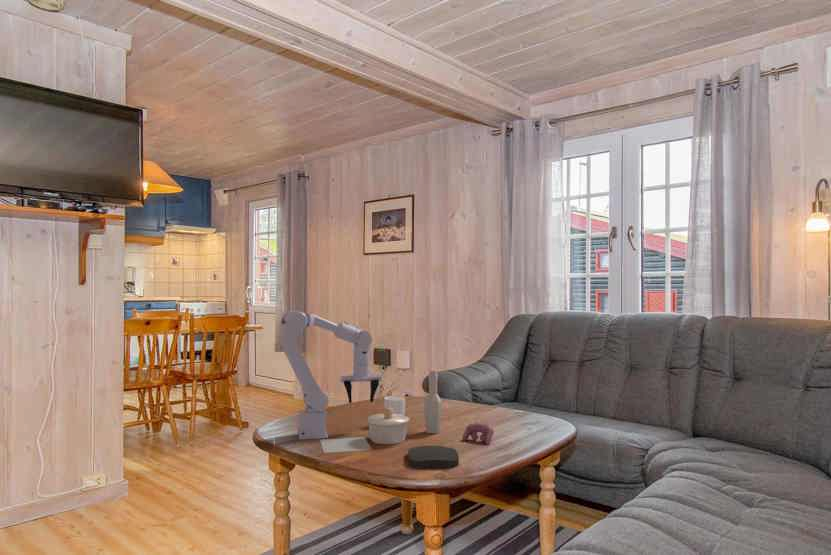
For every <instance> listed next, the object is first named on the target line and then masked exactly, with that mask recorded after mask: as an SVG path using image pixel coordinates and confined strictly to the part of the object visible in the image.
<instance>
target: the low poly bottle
mask: <svg viewBox="0 0 831 555" xmlns="http://www.w3.org/2000/svg"><path fill="white" fill-rule="evenodd" d="M438 379H439V375H438V371H437V369H430V370H429V372H428V394H427V395H426V397H425V398H424V402H423V407H424V408H423V412H424V413H423V414H424V424H425V432H426V434H429V433H437V434H439V433H440V428H441V422H442V421H441V420H442V413H443V411H442V410H443V407H442V405H443V404H442V403H443V401H442V399H441V397H440V396H439V394H438V381H439V380H438Z"/></svg>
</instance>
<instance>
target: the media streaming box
mask: <svg viewBox="0 0 831 555" xmlns="http://www.w3.org/2000/svg"><path fill="white" fill-rule="evenodd" d="M407 451H408V452H407V459H408V464H409V466H410V465H411V467H412V466H414V467H413V468H416V467H419V468H418V469H446V468H447V469H450V468H451V467H452V468H456V467H458V466H459V464H460V462H459V461H460V460H459V459H460V457H459V454H458V451H457V449H456V448H453V447H449V446H443V445H433V444H431V445H420V446H414V447H410V448H408V450H407ZM455 466H456V467H455Z"/></svg>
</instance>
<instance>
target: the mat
mask: <svg viewBox="0 0 831 555" xmlns="http://www.w3.org/2000/svg"><path fill="white" fill-rule="evenodd" d="M319 441H320V445H321V448H322V451H323V453H324V454H328V453H329V454H330V453H331V454H332V453H342V452H343V453H345V452H346V453H347V452H348V453H349V452H359V451H360V452H362V451H373V448H372V447H371V445H370V444H369V443H368V440H367V439H366V437H365V436H364V437H363V436H361V437H344V438H323V439H319Z"/></svg>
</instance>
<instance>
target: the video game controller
mask: <svg viewBox="0 0 831 555" xmlns="http://www.w3.org/2000/svg"><path fill="white" fill-rule="evenodd" d="M478 433H481V434H480V436H479V435H478ZM494 434H495V433H494V429H493V428H492V427H491V426H489V425H487V424H485V423H481V422H480V423H479V422H475V423H469V424H468V425H467V426H466V428H465V430H464V431H463V435H462V441H463V442H466V441H467V440H468V439H469V438H470V437H471V439H472V440H473V441H477V440H478V439H479V440H480V441H481V442H485V445H487V446H488V445H489V444H490V443H491V441H492V437H493V435H494Z"/></svg>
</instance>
